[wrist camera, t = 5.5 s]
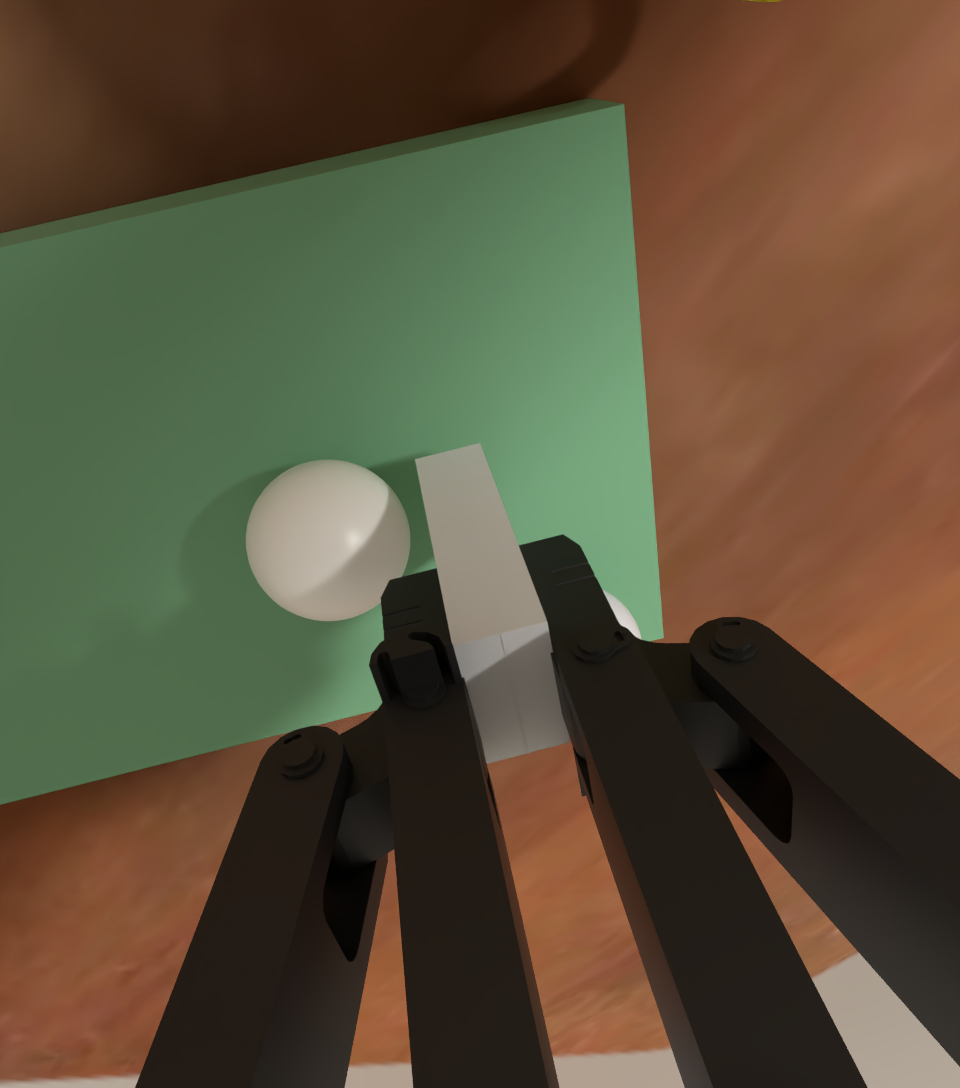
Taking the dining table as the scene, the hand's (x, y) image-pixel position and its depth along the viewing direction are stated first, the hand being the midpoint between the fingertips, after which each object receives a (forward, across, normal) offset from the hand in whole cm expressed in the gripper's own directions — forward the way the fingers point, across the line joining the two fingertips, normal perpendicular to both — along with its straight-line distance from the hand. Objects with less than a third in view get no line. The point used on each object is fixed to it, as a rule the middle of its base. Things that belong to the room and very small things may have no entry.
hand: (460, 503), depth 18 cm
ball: (0, -3, 0) cm, 3 cm away
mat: (+4, -9, 0) cm, 10 cm away
